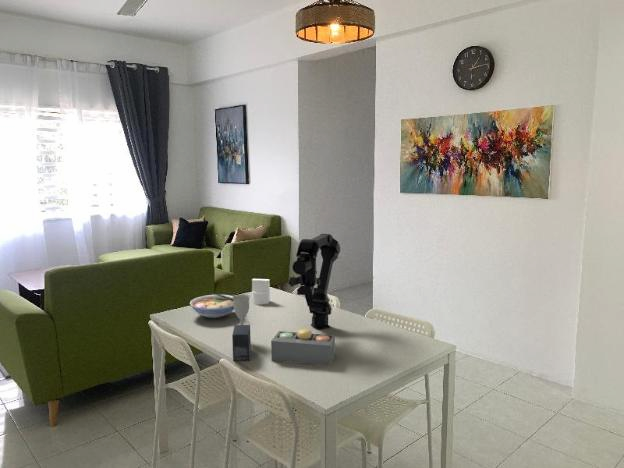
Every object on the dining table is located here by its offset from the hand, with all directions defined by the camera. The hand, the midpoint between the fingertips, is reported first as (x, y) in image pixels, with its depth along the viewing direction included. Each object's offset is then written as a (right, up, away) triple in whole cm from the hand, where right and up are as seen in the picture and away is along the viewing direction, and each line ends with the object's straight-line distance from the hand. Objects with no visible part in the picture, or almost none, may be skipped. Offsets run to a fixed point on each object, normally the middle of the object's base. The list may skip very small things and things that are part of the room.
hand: (309, 306), depth 200 cm
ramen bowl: (-45, -9, +28) cm, 53 cm away
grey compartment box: (-2, -16, -20) cm, 26 cm away
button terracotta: (+5, -12, -20) cm, 24 cm away
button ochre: (-2, -10, -19) cm, 22 cm away
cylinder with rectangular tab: (-25, -6, +50) cm, 57 cm away
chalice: (-28, -14, -2) cm, 31 cm away
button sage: (-8, -11, -18) cm, 23 cm away
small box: (-25, -16, -18) cm, 35 cm away
